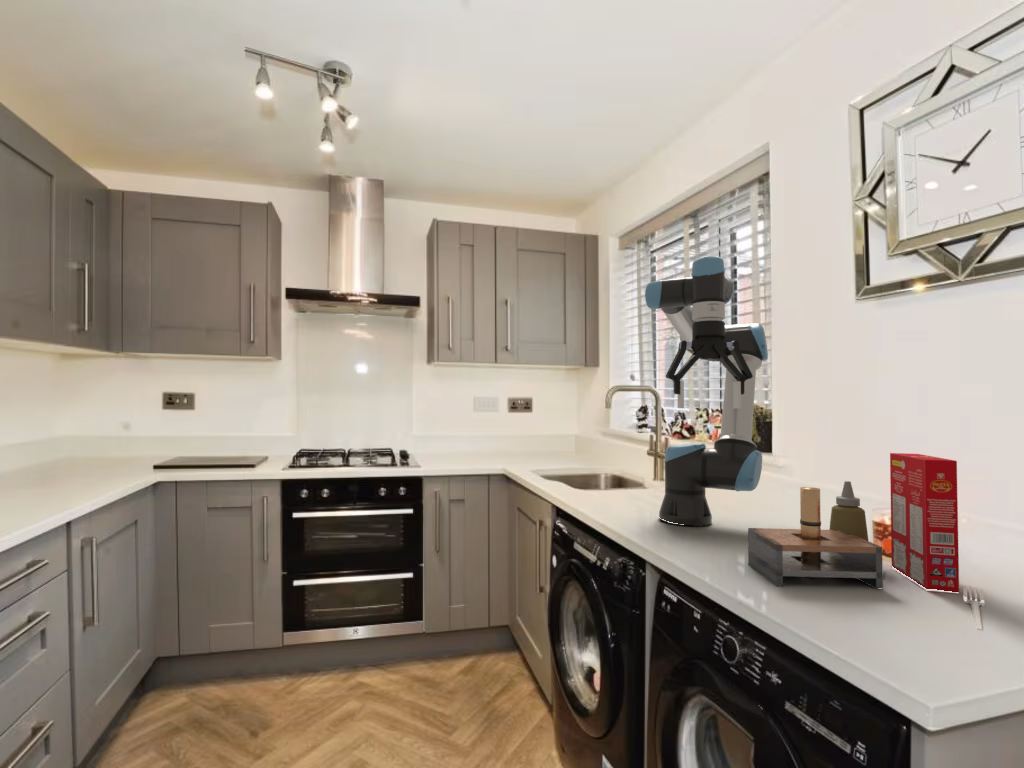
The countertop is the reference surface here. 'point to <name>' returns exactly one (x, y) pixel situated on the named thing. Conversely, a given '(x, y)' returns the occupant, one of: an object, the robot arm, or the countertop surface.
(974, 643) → the countertop surface
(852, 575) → the frame
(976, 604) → the fork
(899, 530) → the food packaging
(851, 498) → the squeeze bottle
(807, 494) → the wooden peg
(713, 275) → the robot arm
